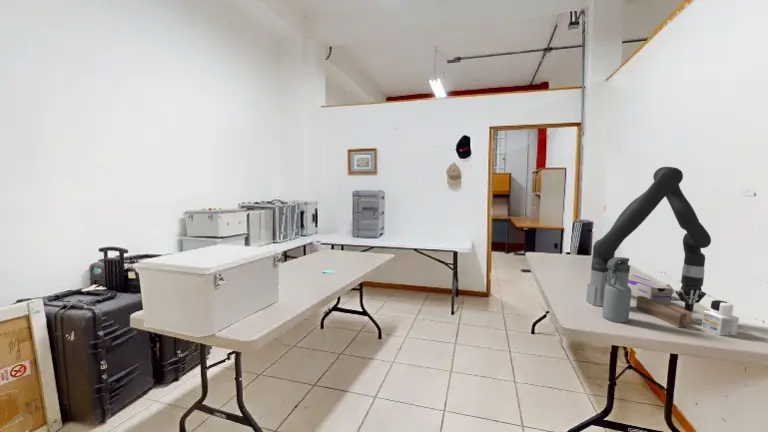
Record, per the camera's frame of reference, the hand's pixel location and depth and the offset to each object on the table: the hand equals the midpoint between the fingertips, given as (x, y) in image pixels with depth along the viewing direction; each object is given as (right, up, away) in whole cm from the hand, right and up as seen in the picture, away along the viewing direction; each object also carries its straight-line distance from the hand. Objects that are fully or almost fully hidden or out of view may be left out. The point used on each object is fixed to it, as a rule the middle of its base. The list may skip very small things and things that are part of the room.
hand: (688, 311), depth 159 cm
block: (-8, -3, -2) cm, 9 cm away
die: (+13, -1, +31) cm, 34 cm away
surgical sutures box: (-4, -1, +25) cm, 25 cm away
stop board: (-14, -3, 0) cm, 14 cm away
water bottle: (-38, -2, -5) cm, 38 cm away
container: (0, -5, -14) cm, 15 cm away
